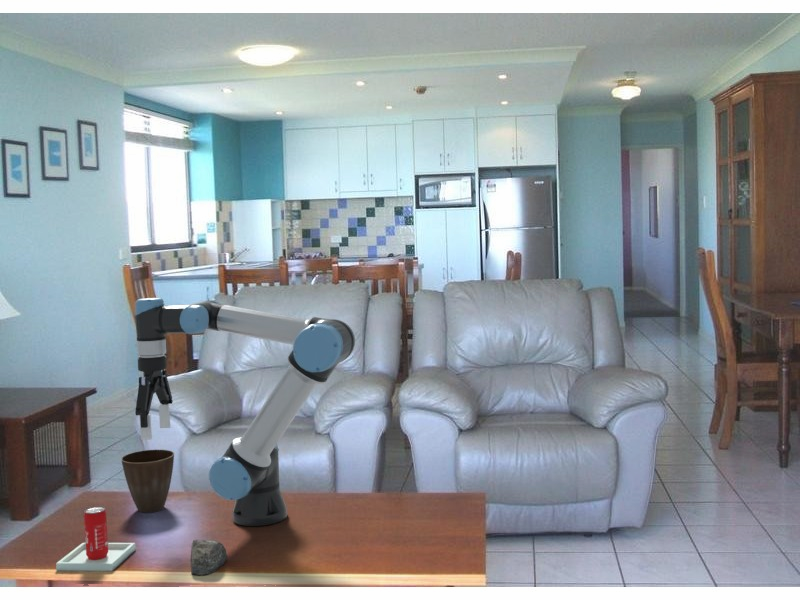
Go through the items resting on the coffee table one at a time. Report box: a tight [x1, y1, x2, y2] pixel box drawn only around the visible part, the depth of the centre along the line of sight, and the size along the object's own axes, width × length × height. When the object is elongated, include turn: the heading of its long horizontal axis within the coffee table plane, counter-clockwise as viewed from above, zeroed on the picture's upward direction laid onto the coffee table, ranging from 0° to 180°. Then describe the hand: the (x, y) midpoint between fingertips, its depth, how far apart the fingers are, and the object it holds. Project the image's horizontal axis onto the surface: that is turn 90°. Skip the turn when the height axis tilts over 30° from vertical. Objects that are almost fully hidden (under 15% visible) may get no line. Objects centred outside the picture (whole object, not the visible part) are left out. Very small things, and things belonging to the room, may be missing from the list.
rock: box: [190, 539, 228, 576], centre depth 208 cm, size 13×9×6 cm, turn 13°
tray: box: [55, 542, 137, 572], centre depth 214 cm, size 14×14×2 cm
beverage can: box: [83, 506, 109, 560], centre depth 214 cm, size 5×5×12 cm
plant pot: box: [120, 449, 175, 514], centre depth 253 cm, size 15×15×16 cm
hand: (156, 433), depth 233 cm, fingers open, 13 cm apart
